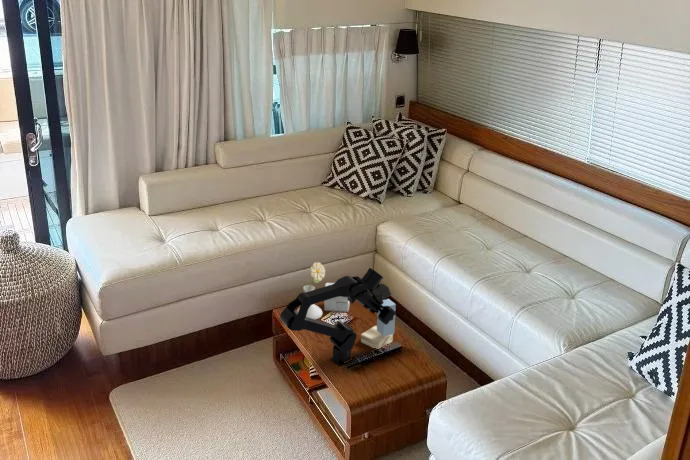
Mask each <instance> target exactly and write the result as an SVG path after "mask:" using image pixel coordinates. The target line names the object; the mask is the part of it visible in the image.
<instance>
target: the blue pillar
mask: <svg viewBox="0 0 690 460" xmlns="http://www.w3.org/2000/svg"><path fill="white" fill-rule="evenodd" d="M382 301H383V302H384V303H383V304H381V305H382V306H389V307H391V308H392V309H393V310H394V311H396V310H397V308H396V307H397V306H396V305H397V304H396V303H395V302H393V301H392V300H391V299H390V298H386V299H384V300H382ZM380 308H381V307H380ZM381 309H382V308H381ZM378 311H379V310H378ZM376 314H377V316H376V317H377V318H376V320H377V321H376V326H377V331H378V332H379V333H380V334H381V335H382V336H383V337H384V336H388V335H391V334H393V335H394V334H395V328H396V327H395V326H396V314H395V315H394V316H393V318H394V319H393V320H392V321H389V323H388V324H386V325H385V324H384V323H383V322H381V321H380V320H379V319H378V315H379V314H380V311H379V312H378V313H376Z"/></svg>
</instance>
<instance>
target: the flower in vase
mask: <svg viewBox="0 0 690 460" xmlns="http://www.w3.org/2000/svg"><path fill="white" fill-rule="evenodd" d="M310 276H311V277H312V280H311V282H310V283H309V282H307V283H306V282H303V284H305V285H304V286H303V287H302V290H303V291H304V293H306V292H309V291H312V290H316V289H315V288H316V287H315V286H314V285H312V284H313V282H314V283H315V284H319V283H320V282H321V281H322V280H323V279H325V276H326V269H325V266H324V265H323V264H322V263H321V262H313V263H312V265H311V266H310ZM296 309H297V310H296V311H297V312H299V309H300V307H297V308H296ZM322 316H323V310H322V308H321V307H320V306H318V305H316V304H313V305H311V306H310V307H309V309H308V312H307V315H306V317H308V318H311V319H315V320H318V319H320V318H321V317H322Z"/></svg>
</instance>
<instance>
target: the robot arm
mask: <svg viewBox="0 0 690 460" xmlns="http://www.w3.org/2000/svg"><path fill="white" fill-rule="evenodd" d="M383 280H384V277H383V276H382V275H381V274H380V273H379V272H377V271H376V270H374V269H373V268H371V267H369V268H368V270H367V271H366V272H365V274H364V275H363V277H362V278H361V277H360V276H358V275H357V276H355V275H354V276H350V275H344V276H342V277H340V278H338V279H337V280H336V281H335V282H333V283H334V284H332V285H329V286H325V285H324V286H322V287H319V288H316V289H314V290H312V291H309V292H306V293H305V291H304V292H300V293H299V294H298V295H297V296H296V298H294V299H293V300H292V301H290V302H288V304H287V305H286V307H284V309H283V310H282V312H281V313H280V315H279V319H280V321H281V322H282V323H283V324H284V326H285V327H286V328H287V329H288V330H290V331H293V332H294V331H296V332H300V331H304V330H305V331H310V332H313V333H315V334H319V335H323V336H326V337H330V338H329V341H330V342H331V343H332V345H333V346H332V356H331V357H330V358H329V360H330V361H333V363H335V364H337V365H338V366H340V367H341V366H344V365H345V364H344V362H345V361H347V360H349V359H350V358H353V357H351V356H352V350H353V347H354V346H355V342H356V340H357V333H356V332H355V329H353V328H352V327H351V326H349V325H348V323H347V322H342V321H340V320H338V321H337V323H336V324H332V323H328V322H326V321H325V322H324V321H321V320H318V319H316V320H315V319H311V318H308V317H306V315H307V312H308V309H309V307H310V306H311V305H313V304H315V305H316V304H318V303H322V302H324V301H325V300H329V299H332V298H335V297H348V298H347V300H348V301H350V303H351V304H354V303H355V301H356V302H357V303H359V304H360V305H361V306H362V307H364V308H365V309H366V310H367V311H369V312H370V313H372V315H374V314H377V313H378V312H379V311H380V314H379V315H378V319H379V320H380V321H381V322H383V323H384V324H385V325H386V324H388V323H389V321H392V320H393V319H394V318H393V316H394V315H395V316H396V314H397V313H396V310H395V311H394V310H393V309H392V308H391V307H389V306H382V305H381V304H383V303H384V302H383V300H386V299H388V297H390V296H391V295H392V292H391V290H390V287H389V286H387V285H386V284H385V283H382V281H383ZM371 290H372V291H371ZM380 307H381V308H382V309H381V308H380ZM298 308H300V309H299V312H297V310H296V309H298ZM378 310H379V311H378ZM343 364H344V365H343Z"/></svg>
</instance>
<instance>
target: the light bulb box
mask: <svg viewBox="0 0 690 460" xmlns="http://www.w3.org/2000/svg"><path fill="white" fill-rule="evenodd" d="M334 283H335V282H326V283H325V284H324V287H325V286H329V285H332V284H334ZM347 298H348V297H335V298H332V299H329V300H325V301H323V303H324V304H323V305H324V306H323V308H324V309H323V310H324V311H325V312H326V311H328V312H346V313H349V310H350V303H351V302H350V301H348V300H347Z"/></svg>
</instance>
